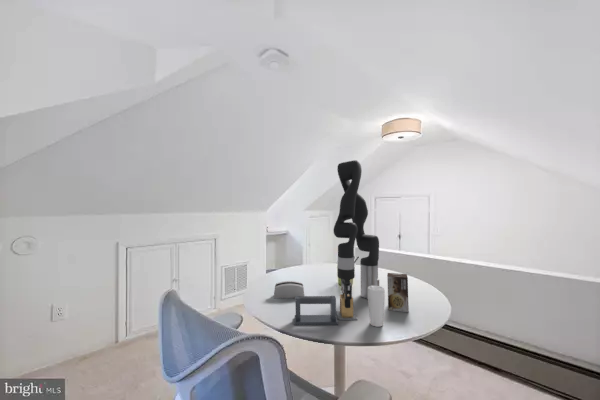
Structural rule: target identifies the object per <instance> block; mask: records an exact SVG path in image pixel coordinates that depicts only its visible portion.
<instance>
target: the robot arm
mask: <svg viewBox="0 0 600 400" xmlns="http://www.w3.org/2000/svg"><path fill="white" fill-rule="evenodd" d="M337 175H338V178H339V181H340V184H341V186H342V189H343V191H344V193H343V195H342V196H341V199H340V202H339V203H340V204H339V213H338V216H337V219H336V221H335V223H334V226H333V234H334V236H335V237H336V238H338V239H348V241H346V242H342V243H339V244H338V245H337V263H336V265H337V267H336V268H337V278H338V279H339V280H340V285H341V286H340V287H341V288H340V291H341V294H345V308H350V299H352V297H353V296H352V295H353V286H352V283H351V280H354V279H355V276H356V274H355V267H356V266H355V251H354V250H355V249H354V248H355V242H356V246H357V248H358V250H360V251H362V252H367V253H368V256H366V257H364V256H363V257H362V258H360V261H359V262H360V265H359V266H360V297H362V298H363V299H367V300H368V287H369V286H380V279H379V257H380V255H379V254H380V239H379V237H378V236H377V235H376V234H375V235H374V234H366V233H365V230H364V229H365V228H364V225H365V223H366V221H367V218H368V215H369V210H368V206H367V202H366V200H365V198H364V196H362V195H361V194H360V193H359V192H358V191H359V187H360V182H361V178H362V164H361V163H360V161H359V160H355V159H354V160H349V161H344V162H340V163H338V165H337ZM348 220H351V221H352V222H349V221H348ZM347 221H348V222H347ZM347 294H349V296H347Z"/></svg>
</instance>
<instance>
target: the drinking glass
mask: <svg viewBox="0 0 600 400" xmlns="http://www.w3.org/2000/svg"><path fill="white" fill-rule="evenodd" d="M385 297H386V295H385V287H382V285H381V286H380V285H379V286H369V287H368V299H367V305H368V314H369V324H370V325H371V326H373V327H376V328H379V327H382V326H383V325H384V311H385V300H386V299H385Z"/></svg>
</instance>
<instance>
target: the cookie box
mask: <svg viewBox="0 0 600 400" xmlns="http://www.w3.org/2000/svg"><path fill="white" fill-rule="evenodd" d="M386 278H387V310H388V311H392V312H393V311H395V312H404V313H409V312H410V311H409V284H408V282H409V281H408V280H409V279H408V274H407V273H397V272H396V273H394V272H387V277H386Z"/></svg>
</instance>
